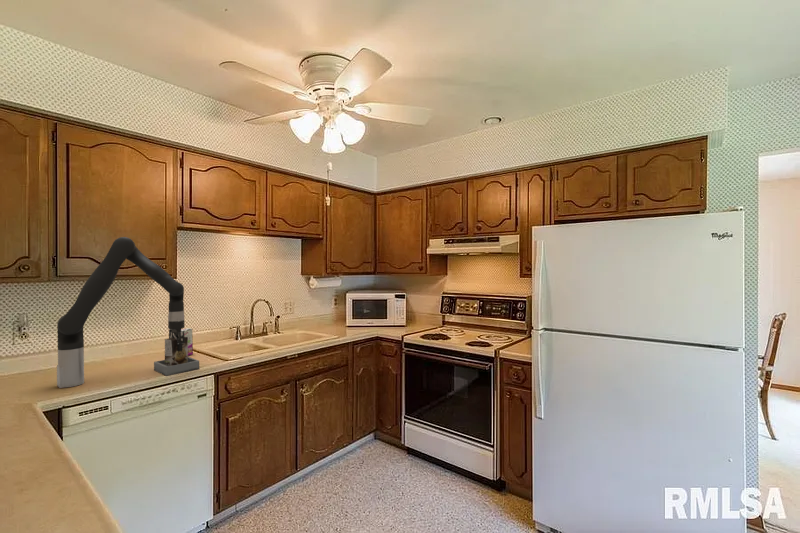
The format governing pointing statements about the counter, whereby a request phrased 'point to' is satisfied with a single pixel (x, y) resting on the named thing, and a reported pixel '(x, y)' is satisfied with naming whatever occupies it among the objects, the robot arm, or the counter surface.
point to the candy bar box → (189, 339)
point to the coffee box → (175, 352)
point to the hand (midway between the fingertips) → (176, 349)
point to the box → (176, 367)
